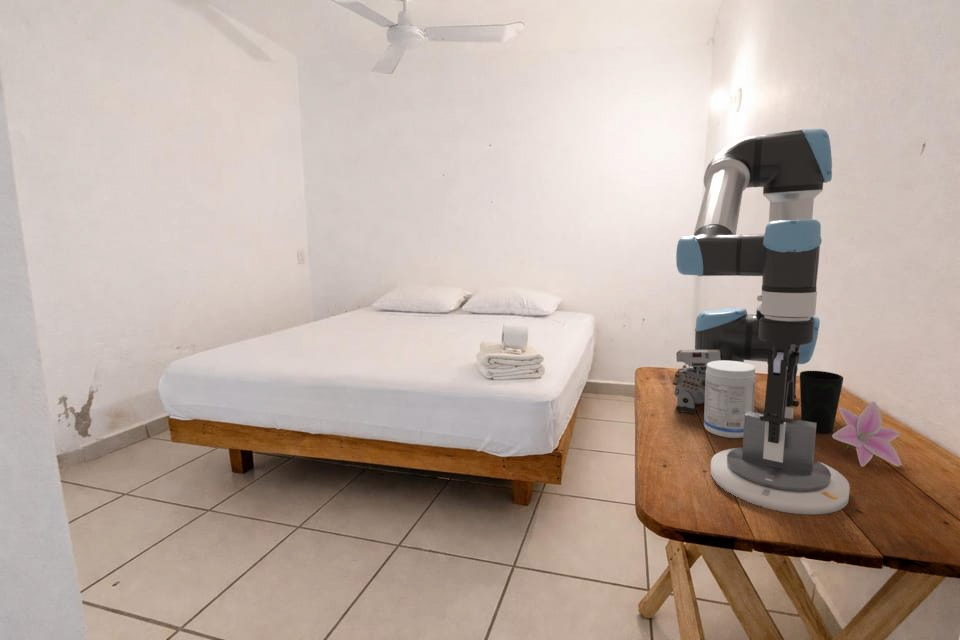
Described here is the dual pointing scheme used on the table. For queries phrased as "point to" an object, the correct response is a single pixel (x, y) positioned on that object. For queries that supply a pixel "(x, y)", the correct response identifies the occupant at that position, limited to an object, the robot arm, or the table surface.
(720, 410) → the supplement tub
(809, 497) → the dial base
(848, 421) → the lily
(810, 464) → the dial
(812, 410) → the cup
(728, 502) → the table surface
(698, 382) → the figurine
